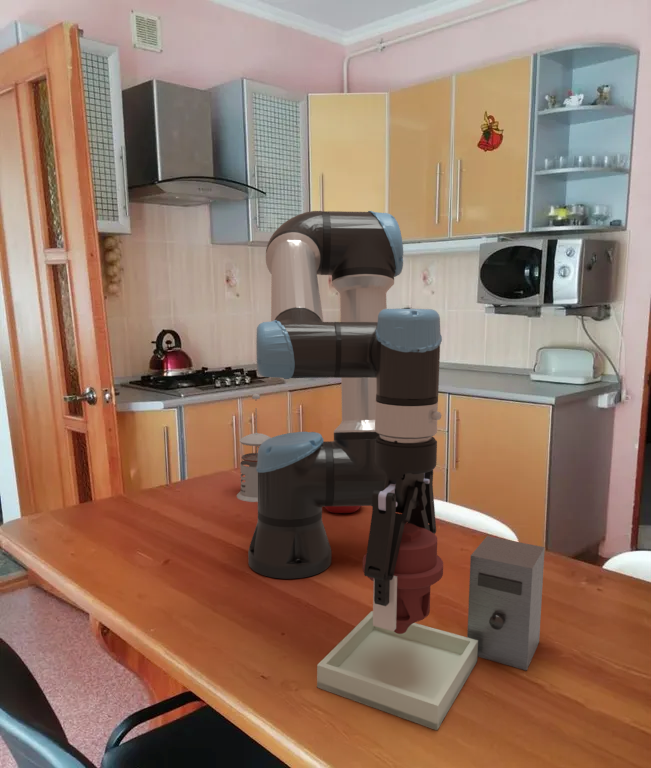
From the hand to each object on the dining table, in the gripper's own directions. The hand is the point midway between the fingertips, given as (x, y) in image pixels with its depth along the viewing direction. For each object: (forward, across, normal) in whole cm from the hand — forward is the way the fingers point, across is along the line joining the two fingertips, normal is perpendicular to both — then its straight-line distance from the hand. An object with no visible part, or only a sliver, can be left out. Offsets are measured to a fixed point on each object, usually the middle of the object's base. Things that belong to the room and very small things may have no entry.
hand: (401, 608), depth 80 cm
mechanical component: (+2, 0, 0) cm, 2 cm away
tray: (+9, 0, 0) cm, 9 cm away
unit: (+9, +13, -10) cm, 19 cm away
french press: (+9, +51, +59) cm, 79 cm away
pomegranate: (+9, +52, +36) cm, 64 cm away
